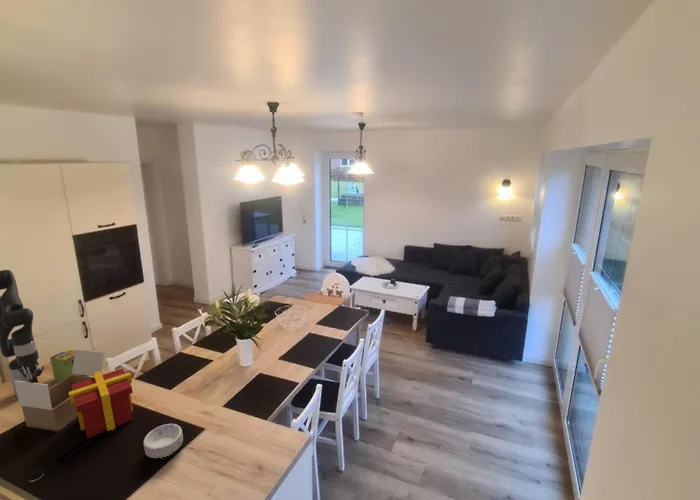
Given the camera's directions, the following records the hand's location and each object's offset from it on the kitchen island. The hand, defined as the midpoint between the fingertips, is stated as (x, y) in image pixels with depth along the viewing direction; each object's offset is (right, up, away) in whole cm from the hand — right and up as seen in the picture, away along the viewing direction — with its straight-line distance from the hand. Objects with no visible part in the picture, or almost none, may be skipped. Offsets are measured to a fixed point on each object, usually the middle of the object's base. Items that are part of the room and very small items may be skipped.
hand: (34, 384), depth 170 cm
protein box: (-17, -13, +46) cm, 51 cm away
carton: (+2, -20, +17) cm, 26 cm away
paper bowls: (+65, -26, -8) cm, 71 cm away
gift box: (+26, -22, +12) cm, 36 cm away
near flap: (0, -5, 0) cm, 5 cm away
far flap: (+5, +2, +28) cm, 28 cm away
